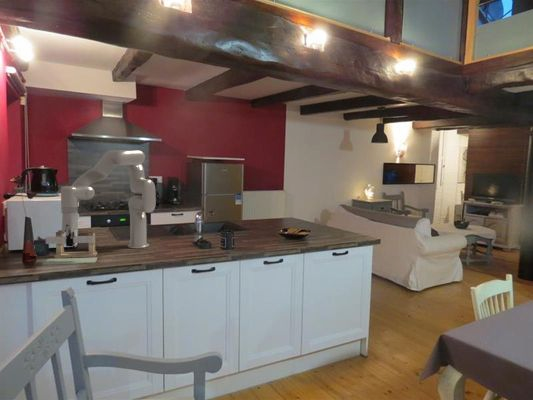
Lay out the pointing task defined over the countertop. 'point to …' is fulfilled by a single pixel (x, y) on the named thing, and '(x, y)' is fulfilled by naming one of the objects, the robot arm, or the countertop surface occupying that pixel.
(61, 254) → the rack
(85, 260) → the mat
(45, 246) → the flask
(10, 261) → the countertop surface
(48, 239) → the rail
